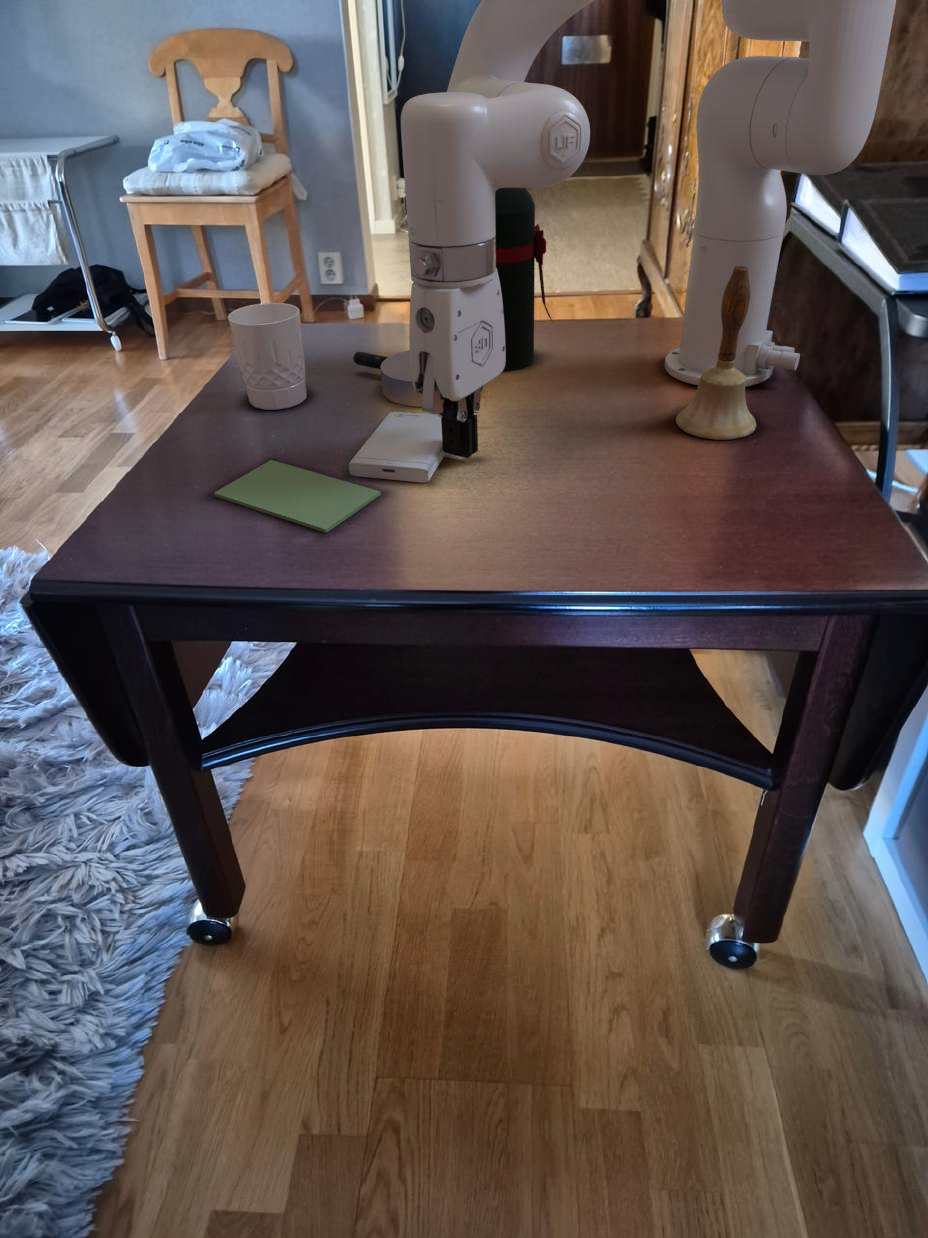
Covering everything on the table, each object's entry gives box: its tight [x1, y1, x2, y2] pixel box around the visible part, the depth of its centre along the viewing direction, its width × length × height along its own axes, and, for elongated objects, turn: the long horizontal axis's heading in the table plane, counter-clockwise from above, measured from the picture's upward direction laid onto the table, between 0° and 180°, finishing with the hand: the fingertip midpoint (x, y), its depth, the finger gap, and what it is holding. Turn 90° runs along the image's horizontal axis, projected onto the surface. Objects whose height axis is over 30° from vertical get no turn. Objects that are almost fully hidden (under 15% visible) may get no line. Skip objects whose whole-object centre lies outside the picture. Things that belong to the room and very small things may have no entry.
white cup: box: [227, 302, 308, 411], centre depth 97 cm, size 8×8×10 cm
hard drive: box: [348, 411, 447, 484], centre depth 87 cm, size 2×8×12 cm
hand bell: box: [675, 266, 757, 441], centre depth 85 cm, size 8×8×16 cm
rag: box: [213, 459, 382, 534], centre depth 80 cm, size 14×8×1 cm, turn 57°
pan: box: [352, 349, 423, 408], centre depth 101 cm, size 16×11×3 cm, turn 57°
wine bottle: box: [495, 188, 555, 372], centre depth 99 cm, size 8×10×30 cm
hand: (460, 451), depth 85 cm, fingers closed
